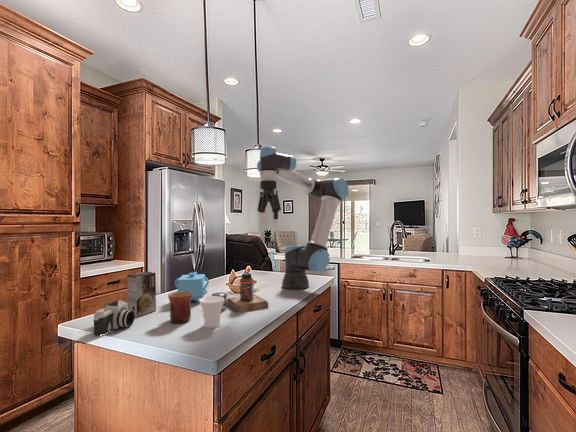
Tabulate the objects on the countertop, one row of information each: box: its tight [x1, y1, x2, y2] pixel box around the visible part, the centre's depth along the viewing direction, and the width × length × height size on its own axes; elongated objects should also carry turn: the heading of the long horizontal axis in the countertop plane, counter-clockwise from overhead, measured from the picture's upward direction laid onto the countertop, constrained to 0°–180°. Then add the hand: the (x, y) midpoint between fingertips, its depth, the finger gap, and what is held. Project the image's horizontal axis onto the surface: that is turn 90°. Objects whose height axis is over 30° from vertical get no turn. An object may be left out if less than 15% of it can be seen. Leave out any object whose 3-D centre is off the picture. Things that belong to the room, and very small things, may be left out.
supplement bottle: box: [239, 272, 254, 301], centre depth 137 cm, size 6×6×11 cm
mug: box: [167, 291, 193, 325], centre depth 119 cm, size 12×9×10 cm
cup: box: [199, 295, 224, 329], centre depth 112 cm, size 9×9×10 cm
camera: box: [93, 299, 136, 338], centre depth 110 cm, size 16×9×10 cm, turn 176°
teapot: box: [174, 271, 210, 304], centre depth 150 cm, size 18×16×13 cm
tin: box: [211, 291, 228, 312], centre depth 132 cm, size 6×6×7 cm
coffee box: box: [126, 270, 157, 318], centre depth 129 cm, size 9×6×16 cm
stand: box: [227, 293, 269, 314], centre depth 137 cm, size 14×14×3 cm
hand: (268, 226), depth 145 cm, fingers open, 13 cm apart
